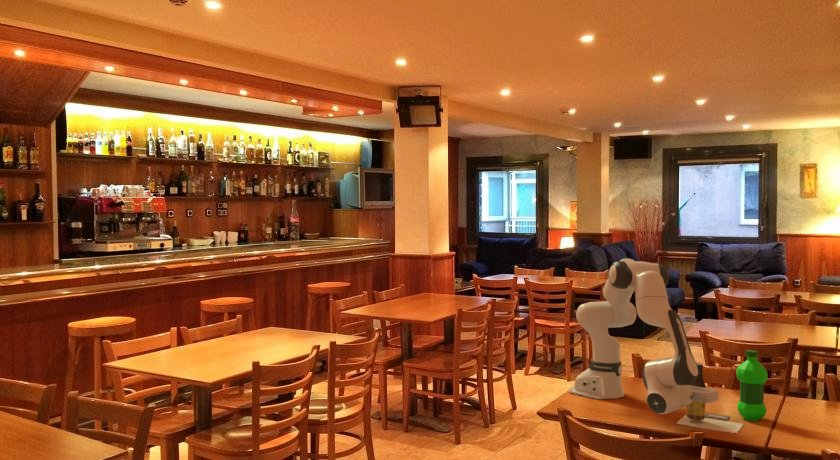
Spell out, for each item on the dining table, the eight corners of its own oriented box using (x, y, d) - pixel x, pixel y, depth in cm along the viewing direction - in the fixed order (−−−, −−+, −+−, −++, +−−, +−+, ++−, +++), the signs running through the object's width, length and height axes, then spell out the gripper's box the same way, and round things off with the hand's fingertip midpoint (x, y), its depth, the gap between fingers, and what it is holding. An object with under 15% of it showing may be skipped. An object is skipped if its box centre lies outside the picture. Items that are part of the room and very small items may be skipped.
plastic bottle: (772, 423, 248) (773, 353, 248) (743, 423, 249) (743, 354, 248) (759, 414, 258) (759, 348, 258) (731, 414, 259) (731, 348, 258)
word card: (703, 417, 256) (703, 416, 256) (706, 413, 260) (706, 412, 260) (726, 420, 251) (726, 419, 251) (729, 417, 256) (729, 416, 255)
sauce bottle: (706, 421, 247) (708, 366, 246) (688, 420, 248) (689, 365, 247) (702, 416, 253) (704, 362, 252) (684, 414, 254) (686, 361, 253)
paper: (676, 423, 249) (676, 422, 249) (685, 415, 258) (685, 414, 258) (736, 433, 237) (736, 432, 237) (743, 424, 247) (743, 423, 247)
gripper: (708, 391, 233) (726, 384, 243) (652, 380, 249) (671, 374, 258) (708, 409, 234) (726, 401, 243) (652, 397, 249) (671, 390, 258)
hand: (697, 387), depth 251 cm, fingers closed on sauce bottle, 6 cm apart
